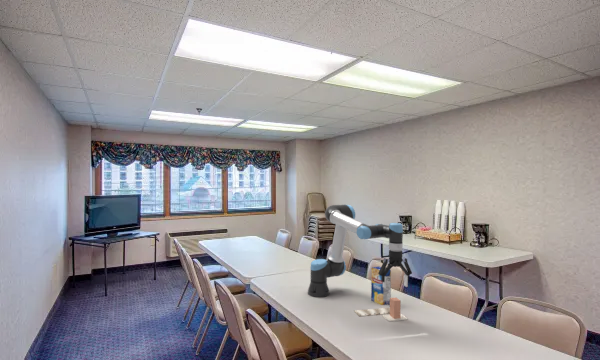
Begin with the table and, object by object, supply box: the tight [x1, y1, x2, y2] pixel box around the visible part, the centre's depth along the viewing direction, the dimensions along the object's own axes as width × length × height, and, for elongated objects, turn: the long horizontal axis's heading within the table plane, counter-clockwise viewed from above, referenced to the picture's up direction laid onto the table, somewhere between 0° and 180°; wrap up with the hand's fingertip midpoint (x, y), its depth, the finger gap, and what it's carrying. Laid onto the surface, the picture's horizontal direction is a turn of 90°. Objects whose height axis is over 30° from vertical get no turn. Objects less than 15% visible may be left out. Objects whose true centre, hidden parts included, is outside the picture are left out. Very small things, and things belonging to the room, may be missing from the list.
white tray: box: [353, 307, 390, 318], centre depth 190 cm, size 26×18×2 cm
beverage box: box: [370, 265, 392, 306], centre depth 216 cm, size 7×11×22 cm, turn 31°
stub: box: [381, 297, 409, 322], centre depth 187 cm, size 12×7×11 cm, turn 103°
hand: (395, 286), depth 187 cm, fingers open, 13 cm apart
